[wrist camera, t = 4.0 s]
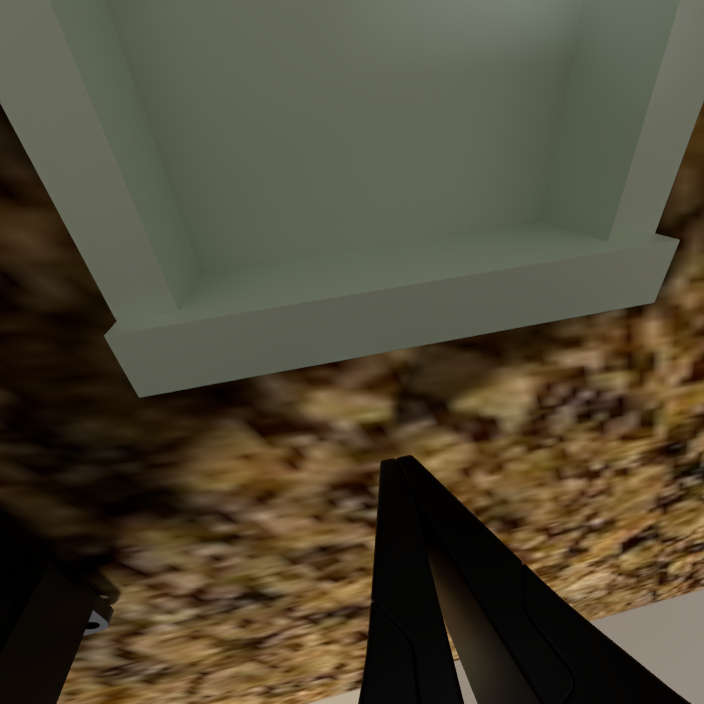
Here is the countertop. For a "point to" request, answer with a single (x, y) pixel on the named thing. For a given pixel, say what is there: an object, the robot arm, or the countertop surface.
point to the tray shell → (351, 167)
